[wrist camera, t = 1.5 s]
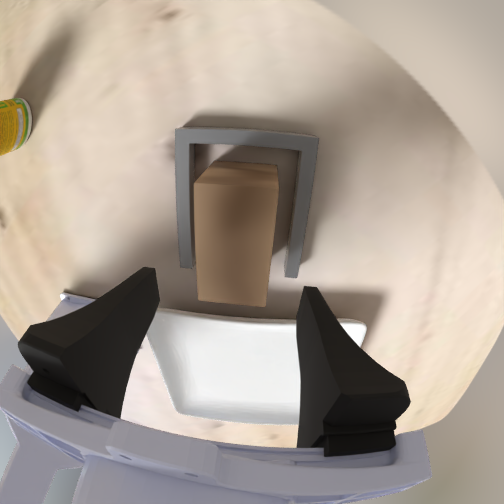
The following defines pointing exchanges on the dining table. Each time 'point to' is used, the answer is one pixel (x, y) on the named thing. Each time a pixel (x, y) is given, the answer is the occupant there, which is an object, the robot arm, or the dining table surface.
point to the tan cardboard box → (235, 231)
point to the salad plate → (232, 365)
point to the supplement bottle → (14, 124)
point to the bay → (248, 137)
